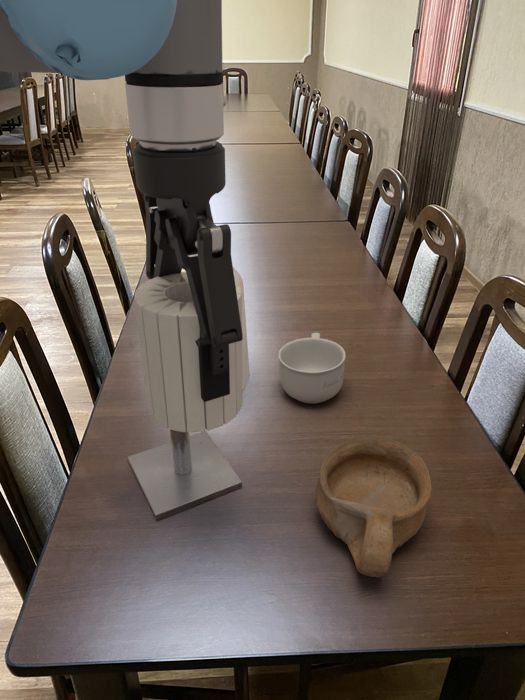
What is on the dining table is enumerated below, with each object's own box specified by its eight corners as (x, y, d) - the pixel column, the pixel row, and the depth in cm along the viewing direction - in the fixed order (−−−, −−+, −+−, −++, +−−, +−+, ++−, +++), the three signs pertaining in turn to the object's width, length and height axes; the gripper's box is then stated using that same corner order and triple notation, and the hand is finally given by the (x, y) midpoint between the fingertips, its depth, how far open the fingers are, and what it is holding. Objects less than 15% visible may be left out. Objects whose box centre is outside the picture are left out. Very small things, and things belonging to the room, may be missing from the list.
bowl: (470, 584, 58) (463, 525, 53) (343, 615, 59) (324, 560, 54) (416, 467, 73) (407, 412, 68) (316, 493, 74) (300, 441, 69)
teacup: (332, 418, 85) (336, 376, 80) (268, 403, 88) (268, 362, 84) (352, 373, 96) (356, 334, 92) (294, 361, 99) (296, 323, 95)
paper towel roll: (168, 444, 52) (156, 325, 45) (135, 391, 59) (120, 282, 52) (258, 413, 56) (260, 301, 49) (217, 368, 63) (213, 264, 57)
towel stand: (156, 520, 67) (145, 437, 60) (128, 461, 76) (115, 383, 69) (242, 487, 72) (241, 406, 65) (206, 435, 81) (201, 359, 74)
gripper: (291, 163, 37) (281, 418, 49) (170, 120, 54) (184, 317, 65) (191, 175, 34) (205, 444, 45) (96, 125, 51) (124, 331, 62)
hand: (193, 369), depth 55 cm, fingers closed on paper towel roll, 10 cm apart
